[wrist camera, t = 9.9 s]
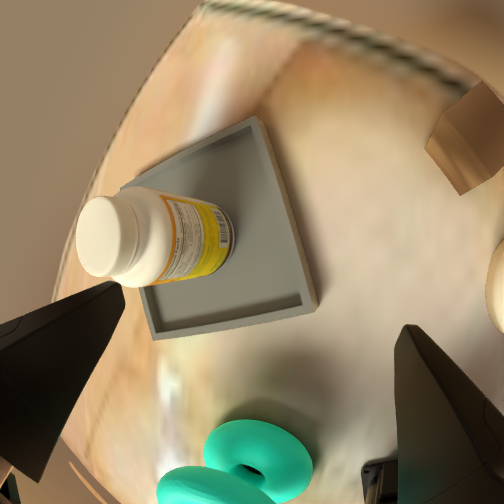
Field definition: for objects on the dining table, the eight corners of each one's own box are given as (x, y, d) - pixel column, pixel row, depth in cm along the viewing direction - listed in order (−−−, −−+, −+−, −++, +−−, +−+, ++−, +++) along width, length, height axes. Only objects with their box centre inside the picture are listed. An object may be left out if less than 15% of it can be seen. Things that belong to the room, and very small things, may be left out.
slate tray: (319, 306, 20) (314, 312, 18) (165, 335, 25) (152, 340, 23) (264, 124, 21) (255, 114, 19) (133, 190, 26) (120, 188, 24)
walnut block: (493, 164, 14) (529, 138, 9) (460, 195, 15) (492, 177, 10) (458, 120, 15) (482, 80, 9) (424, 149, 16) (442, 113, 11)
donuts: (167, 535, 14) (133, 462, 14) (220, 478, 23) (207, 405, 23) (279, 571, 10) (275, 509, 10) (314, 495, 20) (317, 419, 20)
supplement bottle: (165, 246, 23) (58, 247, 14) (199, 189, 22) (93, 160, 13) (212, 291, 22) (104, 317, 12) (252, 230, 20) (150, 218, 11)
